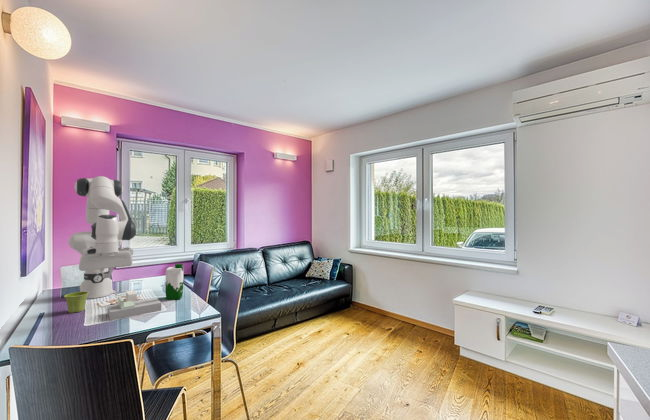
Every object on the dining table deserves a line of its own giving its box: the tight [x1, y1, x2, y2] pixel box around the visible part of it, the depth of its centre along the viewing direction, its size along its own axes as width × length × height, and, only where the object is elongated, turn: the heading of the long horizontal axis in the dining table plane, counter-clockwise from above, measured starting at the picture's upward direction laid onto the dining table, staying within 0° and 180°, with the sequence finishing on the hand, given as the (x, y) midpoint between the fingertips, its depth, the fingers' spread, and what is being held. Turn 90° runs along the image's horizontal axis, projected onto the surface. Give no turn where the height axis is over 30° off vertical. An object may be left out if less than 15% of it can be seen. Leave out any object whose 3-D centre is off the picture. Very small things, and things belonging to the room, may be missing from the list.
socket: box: [106, 297, 162, 322], centre depth 143 cm, size 12×21×4 cm, turn 133°
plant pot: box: [63, 291, 89, 314], centre depth 144 cm, size 9×9×9 cm
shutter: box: [117, 296, 135, 309], centre depth 140 cm, size 10×6×4 cm, turn 43°
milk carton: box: [164, 263, 184, 301], centre depth 166 cm, size 9×9×20 cm
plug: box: [125, 289, 138, 302], centre depth 153 cm, size 9×4×7 cm, turn 43°
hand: (106, 277), depth 135 cm, fingers closed
